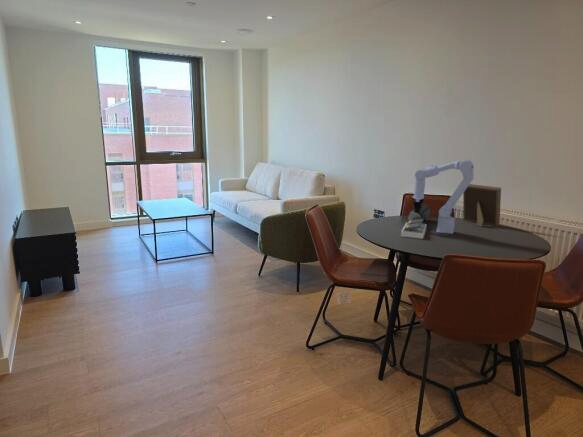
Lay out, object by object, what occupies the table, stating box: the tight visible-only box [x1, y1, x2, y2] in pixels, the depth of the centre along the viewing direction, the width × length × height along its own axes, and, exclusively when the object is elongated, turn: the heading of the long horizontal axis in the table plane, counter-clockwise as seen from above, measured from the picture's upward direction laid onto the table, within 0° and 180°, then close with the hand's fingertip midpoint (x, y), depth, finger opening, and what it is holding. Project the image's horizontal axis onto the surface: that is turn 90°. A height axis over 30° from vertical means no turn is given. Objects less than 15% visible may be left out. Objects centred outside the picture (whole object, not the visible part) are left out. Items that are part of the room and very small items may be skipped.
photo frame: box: [462, 183, 502, 228], centre depth 256 cm, size 15×22×25 cm
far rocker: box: [407, 219, 424, 225], centre depth 237 cm, size 8×9×2 cm
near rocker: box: [405, 223, 421, 230], centre depth 227 cm, size 8×9×2 cm
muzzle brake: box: [407, 204, 431, 222], centre depth 258 cm, size 10×28×10 cm, turn 151°
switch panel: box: [400, 221, 427, 240], centre depth 233 cm, size 12×24×4 cm, turn 158°
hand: (417, 211), depth 242 cm, fingers open, 7 cm apart
